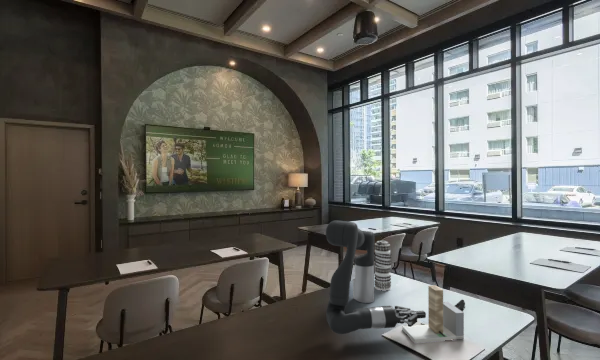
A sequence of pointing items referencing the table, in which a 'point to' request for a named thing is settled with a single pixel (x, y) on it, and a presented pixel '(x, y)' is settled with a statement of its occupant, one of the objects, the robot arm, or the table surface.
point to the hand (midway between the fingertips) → (424, 314)
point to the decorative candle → (382, 265)
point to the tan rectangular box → (435, 309)
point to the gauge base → (451, 327)
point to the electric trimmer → (460, 305)
